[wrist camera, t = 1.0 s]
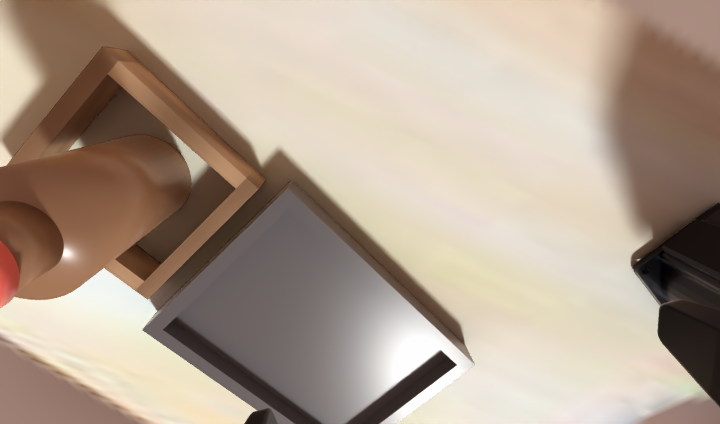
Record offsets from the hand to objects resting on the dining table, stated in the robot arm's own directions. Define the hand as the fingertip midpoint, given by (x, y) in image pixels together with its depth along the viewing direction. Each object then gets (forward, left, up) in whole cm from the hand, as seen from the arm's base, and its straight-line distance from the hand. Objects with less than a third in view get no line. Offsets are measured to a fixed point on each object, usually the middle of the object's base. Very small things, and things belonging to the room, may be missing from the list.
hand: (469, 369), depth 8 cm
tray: (-3, +9, -14) cm, 17 cm away
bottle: (+10, +9, -14) cm, 19 cm away
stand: (+10, +9, -14) cm, 19 cm away
